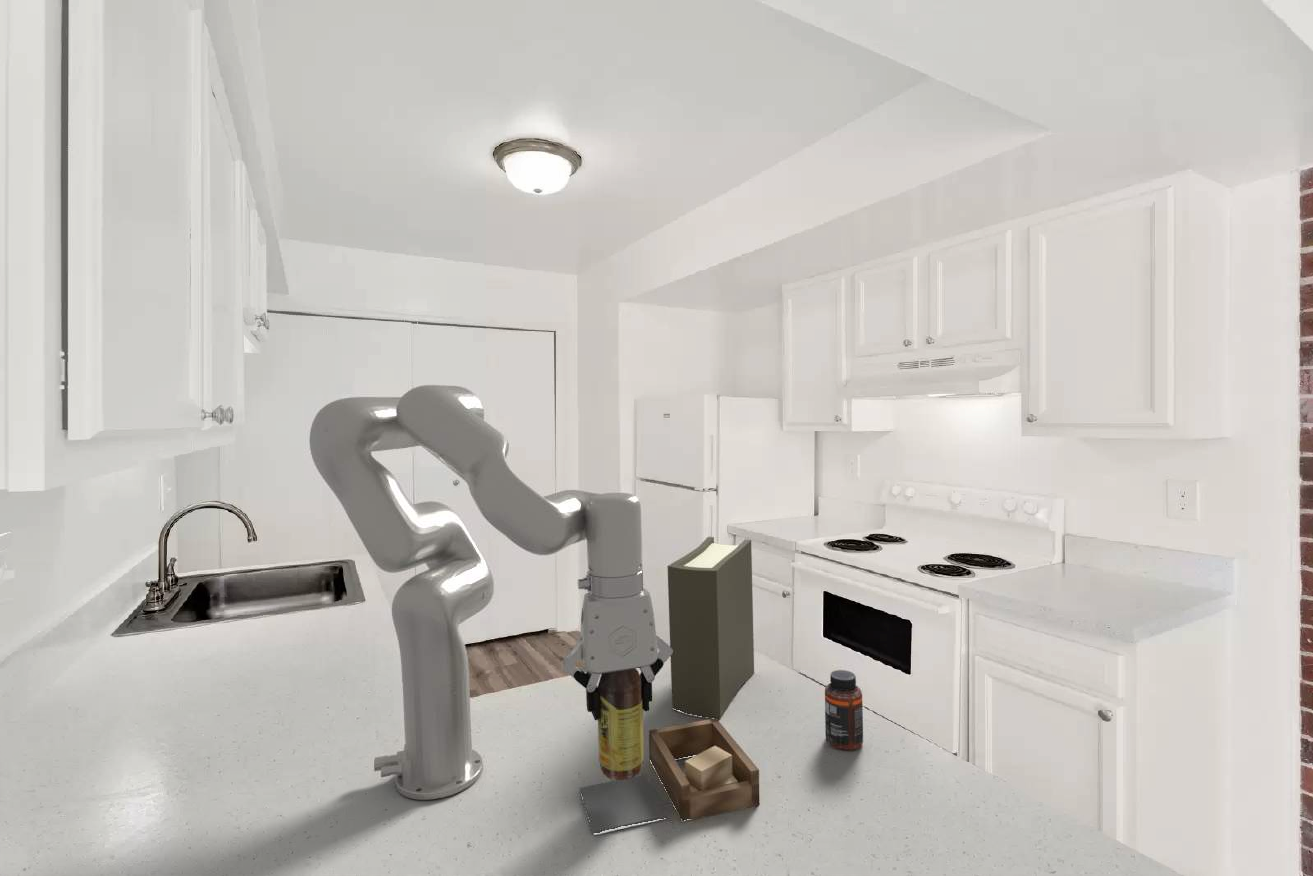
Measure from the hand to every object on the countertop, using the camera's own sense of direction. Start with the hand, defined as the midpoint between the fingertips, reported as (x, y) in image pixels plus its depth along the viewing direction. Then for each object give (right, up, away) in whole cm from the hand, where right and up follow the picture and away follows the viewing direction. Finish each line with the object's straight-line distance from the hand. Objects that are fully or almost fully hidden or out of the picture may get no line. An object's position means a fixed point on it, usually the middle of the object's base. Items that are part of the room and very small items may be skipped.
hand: (619, 710), depth 89 cm
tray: (+12, -13, +6) cm, 19 cm away
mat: (0, -14, +1) cm, 14 cm away
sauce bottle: (0, -9, 0) cm, 9 cm away
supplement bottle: (+36, -12, +16) cm, 41 cm away
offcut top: (+13, -11, +2) cm, 17 cm away
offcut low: (+13, -14, +2) cm, 19 cm away
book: (+16, -12, +35) cm, 40 cm away
